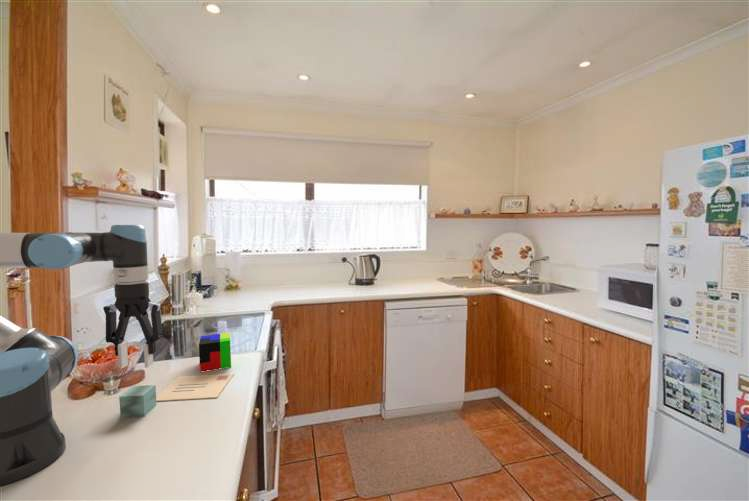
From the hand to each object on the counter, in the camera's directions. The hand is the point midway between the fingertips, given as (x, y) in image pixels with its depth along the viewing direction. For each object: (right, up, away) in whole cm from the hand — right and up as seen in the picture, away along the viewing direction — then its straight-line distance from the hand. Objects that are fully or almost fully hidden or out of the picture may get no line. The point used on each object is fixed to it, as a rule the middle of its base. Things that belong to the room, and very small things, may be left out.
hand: (136, 365), depth 92 cm
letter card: (+9, -12, +15) cm, 21 cm away
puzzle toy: (+7, -11, +32) cm, 35 cm away
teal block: (0, -13, +1) cm, 13 cm away
